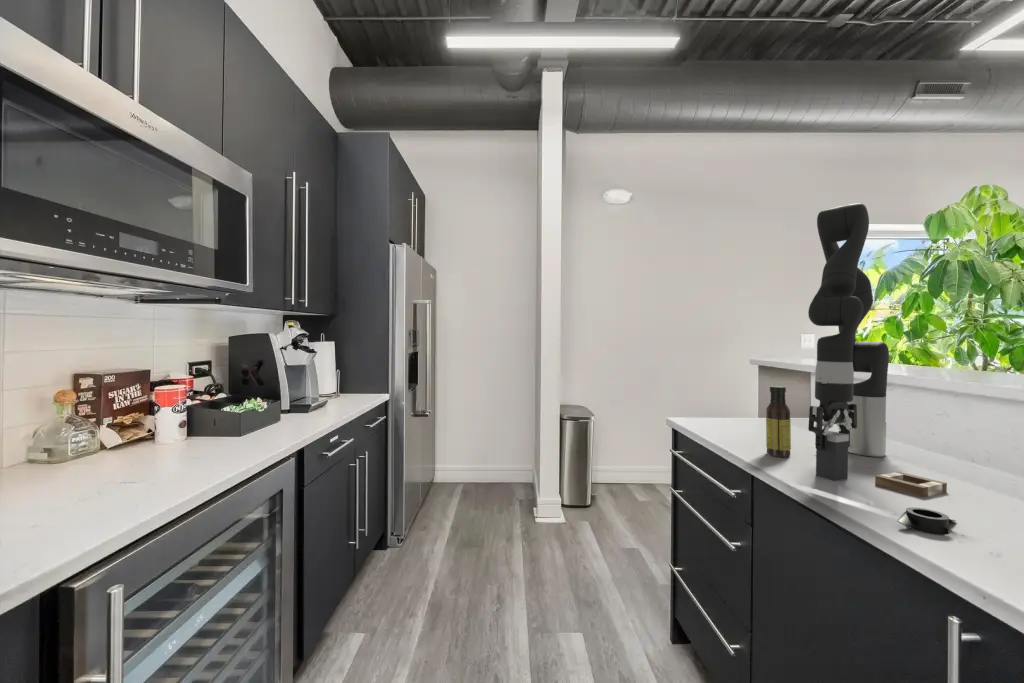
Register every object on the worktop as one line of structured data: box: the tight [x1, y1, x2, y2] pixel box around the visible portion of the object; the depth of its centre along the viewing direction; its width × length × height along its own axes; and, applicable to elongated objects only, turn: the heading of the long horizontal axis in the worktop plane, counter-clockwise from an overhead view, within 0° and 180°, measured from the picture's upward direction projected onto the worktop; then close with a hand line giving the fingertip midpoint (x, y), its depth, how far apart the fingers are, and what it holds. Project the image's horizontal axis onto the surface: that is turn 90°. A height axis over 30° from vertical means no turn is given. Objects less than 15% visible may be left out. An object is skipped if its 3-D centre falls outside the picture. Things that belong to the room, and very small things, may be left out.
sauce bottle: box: [765, 385, 792, 458], centre depth 136 cm, size 6×6×20 cm
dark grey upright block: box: [815, 430, 849, 482], centre depth 111 cm, size 5×5×11 cm
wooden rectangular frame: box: [874, 471, 948, 498], centre depth 104 cm, size 9×9×3 cm
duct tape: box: [896, 506, 957, 536], centre depth 84 cm, size 8×10×3 cm
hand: (832, 448), depth 111 cm, fingers open, 8 cm apart
